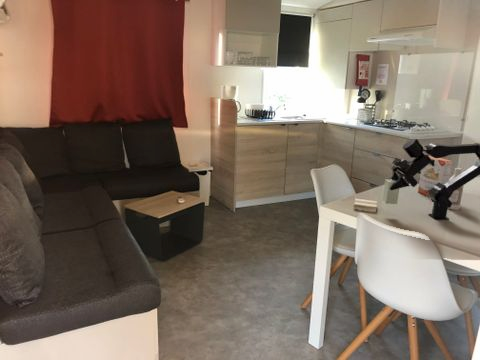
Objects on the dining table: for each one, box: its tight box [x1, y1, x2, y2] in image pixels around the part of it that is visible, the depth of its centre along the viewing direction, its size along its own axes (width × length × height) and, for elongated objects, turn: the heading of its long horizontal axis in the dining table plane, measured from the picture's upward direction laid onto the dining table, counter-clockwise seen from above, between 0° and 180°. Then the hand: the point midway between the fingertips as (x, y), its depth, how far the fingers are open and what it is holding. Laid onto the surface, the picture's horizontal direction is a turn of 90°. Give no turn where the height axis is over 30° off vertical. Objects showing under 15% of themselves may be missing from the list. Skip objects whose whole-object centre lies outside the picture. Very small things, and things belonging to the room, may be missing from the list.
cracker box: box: [417, 155, 453, 197], centre depth 217 cm, size 14×6×21 cm, turn 25°
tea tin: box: [382, 178, 400, 205], centre depth 182 cm, size 5×5×10 cm
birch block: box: [353, 198, 378, 213], centre depth 193 cm, size 10×10×3 cm
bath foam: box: [447, 167, 464, 211], centre depth 197 cm, size 7×7×20 cm
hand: (388, 187), depth 181 cm, fingers closed on tea tin, 5 cm apart
